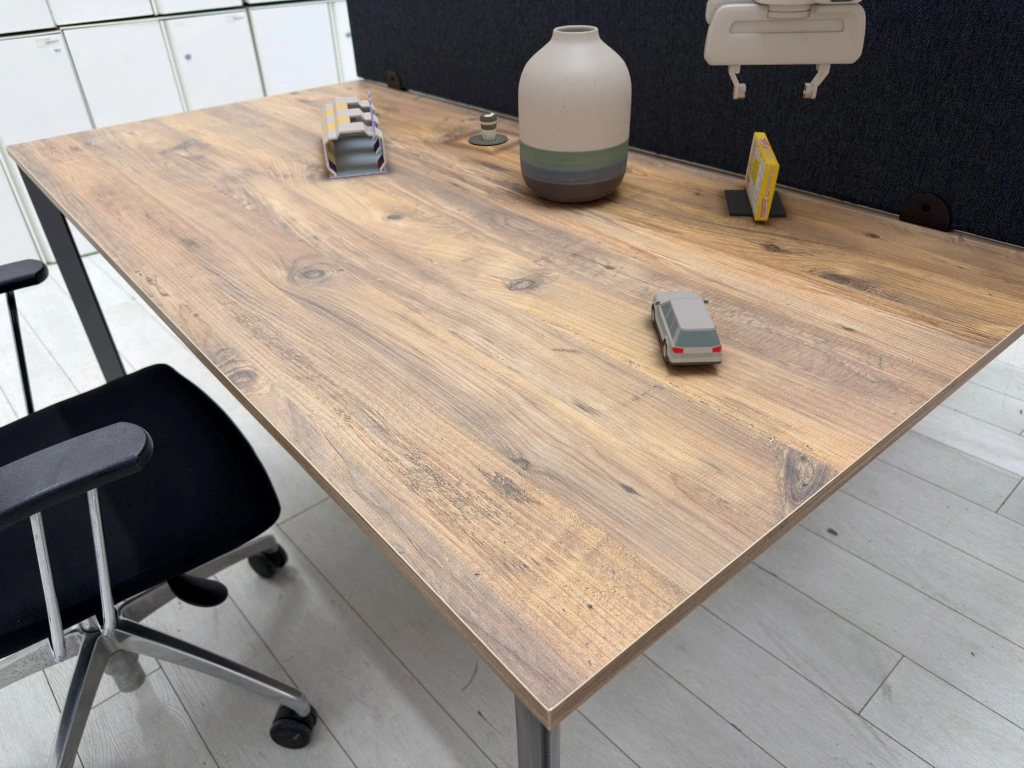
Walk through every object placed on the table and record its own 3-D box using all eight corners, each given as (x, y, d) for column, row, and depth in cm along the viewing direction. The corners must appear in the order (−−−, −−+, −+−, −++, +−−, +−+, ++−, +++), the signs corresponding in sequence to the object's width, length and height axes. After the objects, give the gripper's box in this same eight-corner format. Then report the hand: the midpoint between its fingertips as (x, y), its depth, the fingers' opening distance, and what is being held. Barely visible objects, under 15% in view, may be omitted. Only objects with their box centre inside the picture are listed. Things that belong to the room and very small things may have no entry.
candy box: (769, 222, 103) (780, 164, 98) (754, 221, 103) (764, 164, 98) (757, 183, 116) (766, 131, 111) (743, 183, 116) (751, 130, 112)
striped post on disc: (446, 142, 142) (444, 116, 139) (487, 128, 149) (486, 103, 146) (492, 153, 135) (491, 125, 132) (532, 137, 142) (532, 111, 140)
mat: (777, 193, 113) (777, 190, 113) (786, 217, 105) (786, 214, 105) (724, 191, 115) (725, 189, 114) (729, 215, 106) (730, 212, 106)
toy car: (696, 312, 83) (701, 272, 80) (723, 374, 72) (730, 331, 70) (646, 313, 83) (649, 274, 80) (666, 376, 72) (670, 333, 70)
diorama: (388, 172, 128) (378, 95, 120) (329, 178, 126) (315, 100, 118) (377, 134, 148) (368, 66, 140) (326, 139, 146) (314, 70, 138)
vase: (646, 189, 117) (659, 25, 103) (580, 220, 107) (584, 43, 93) (566, 168, 126) (568, 16, 113) (498, 195, 116) (491, 31, 103)
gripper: (709, -9, 92) (698, 104, 100) (879, -14, 89) (854, 103, 97) (706, -15, 97) (696, 93, 105) (867, -19, 94) (844, 92, 102)
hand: (773, 98), depth 101 cm, fingers open, 8 cm apart
